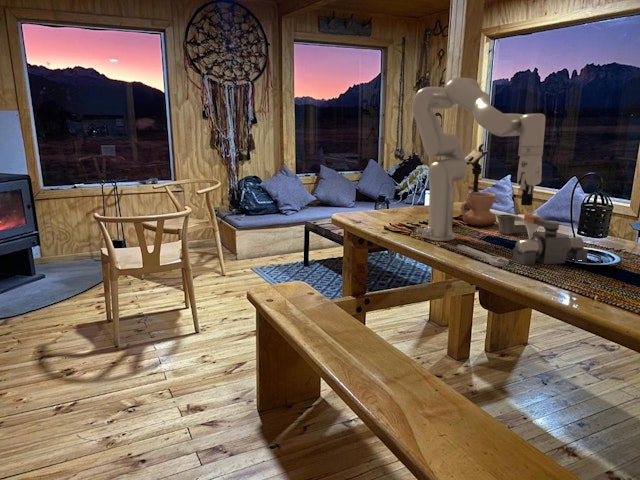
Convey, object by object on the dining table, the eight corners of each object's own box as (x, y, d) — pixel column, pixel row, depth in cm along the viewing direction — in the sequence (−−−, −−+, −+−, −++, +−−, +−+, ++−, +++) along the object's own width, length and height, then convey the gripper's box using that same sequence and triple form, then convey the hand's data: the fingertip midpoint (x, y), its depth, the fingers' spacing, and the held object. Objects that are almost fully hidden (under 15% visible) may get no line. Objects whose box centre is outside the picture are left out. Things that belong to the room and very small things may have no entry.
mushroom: (540, 238, 193) (543, 209, 190) (547, 245, 183) (550, 214, 180) (513, 237, 195) (516, 208, 192) (518, 244, 185) (521, 214, 182)
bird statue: (464, 216, 237) (469, 144, 228) (449, 211, 249) (453, 142, 240) (492, 214, 242) (498, 143, 233) (476, 209, 254) (481, 141, 245)
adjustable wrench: (455, 249, 182) (455, 244, 182) (470, 247, 184) (470, 243, 183) (496, 267, 159) (496, 262, 158) (513, 266, 160) (513, 261, 160)
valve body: (524, 265, 160) (527, 234, 157) (511, 258, 167) (514, 228, 165) (587, 261, 163) (591, 230, 160) (572, 255, 171) (575, 225, 168)
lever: (561, 230, 161) (562, 223, 160) (549, 231, 160) (549, 224, 159) (532, 220, 177) (533, 214, 176) (521, 220, 176) (522, 214, 175)
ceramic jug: (488, 220, 227) (491, 190, 224) (504, 227, 213) (507, 195, 210) (452, 222, 225) (454, 192, 221) (465, 229, 211) (468, 197, 207)
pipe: (529, 236, 197) (531, 217, 195) (496, 235, 200) (498, 216, 198) (526, 233, 203) (528, 214, 201) (494, 231, 206) (496, 213, 204)
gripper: (533, 152, 154) (529, 209, 159) (550, 150, 165) (545, 203, 169) (510, 152, 160) (506, 207, 164) (527, 149, 170) (524, 201, 174)
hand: (526, 205), depth 167 cm, fingers closed
